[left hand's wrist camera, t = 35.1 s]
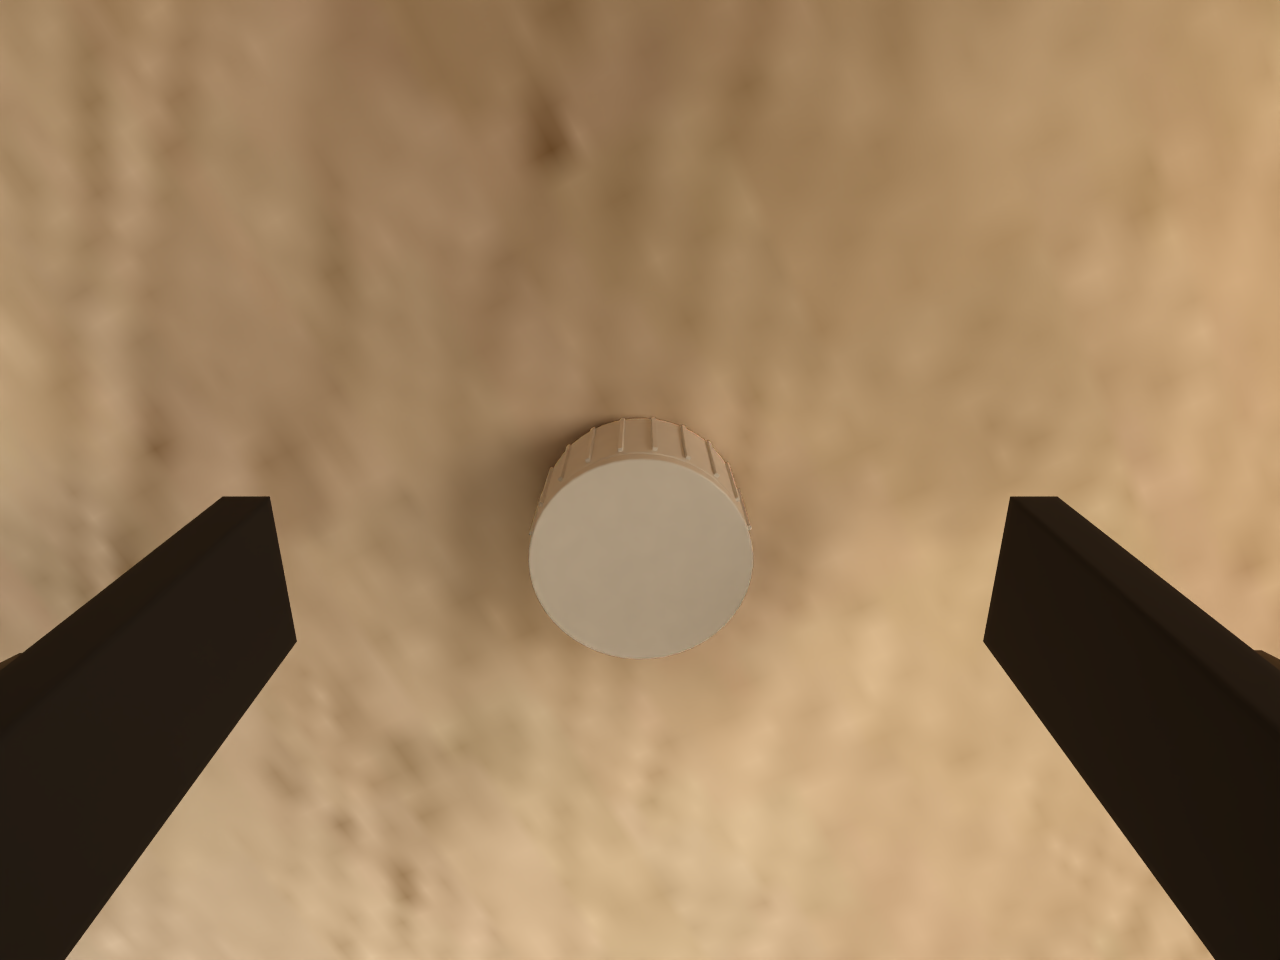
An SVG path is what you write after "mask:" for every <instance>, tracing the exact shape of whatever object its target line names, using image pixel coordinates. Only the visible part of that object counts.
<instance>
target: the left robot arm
mask: <svg viewBox="0 0 1280 960" xmlns="http://www.w3.org/2000/svg"><path fill="white" fill-rule="evenodd" d="M296 642H297V640H296V634H295V629H294V624H293V618H292V613H291V608H290V602H289V597H288V592H287V586H286V581H285V576H284V570H283V565H282V560H281V554H280V549H279V544H278V538H277V533H276V527H275V522H274V517H273V511H272V506H271V501H270V497H222V498H220V499H219V500H218V501H216V502H215V503H214V504H213V505H211V506H210V507H209V508H207V509H206V510H205V511H204V512H202V513H201V514H200V515H199V516H197V517H196V518H195V519H193V520H192V521H191V522H190V523H188V524H187V525H186V526H184V527H183V528H182V529H181V530H179V531H178V532H177V533H175V534H174V535H173V536H172V537H170V538H169V539H168V540H167V541H165V542H164V543H163V544H161V545H160V546H159V547H158V548H156V549H155V550H154V551H152V552H151V553H150V554H149V555H147V556H146V557H145V558H143V559H142V560H141V561H140V562H138V563H137V564H136V565H135V566H133V567H132V568H131V569H129V570H128V571H127V572H126V573H124V574H123V575H122V576H120V577H119V578H118V579H117V580H115V581H114V582H113V583H112V584H110V585H109V586H108V587H106V588H105V589H104V590H103V591H101V592H100V593H99V594H97V595H96V596H95V597H94V598H92V599H91V600H90V601H88V602H87V603H86V604H85V605H83V606H82V607H81V608H80V609H78V610H77V611H76V612H74V613H73V614H72V615H71V616H69V617H68V618H67V619H65V620H64V621H63V622H62V623H60V624H59V625H58V626H57V627H55V628H54V629H53V630H51V631H50V632H49V633H48V634H46V635H45V636H44V637H42V638H41V639H40V640H39V641H37V642H36V643H35V644H33V645H32V646H31V647H30V648H28V649H27V650H26V651H25V652H23V653H19V654H17V655H15V656H13V657H11V658H9V659H7V660H5V661H3V662H1V663H0V960H65V959H66V957H67V956H68V955H69V953H70V952H71V951H72V949H73V948H74V946H75V945H76V944H77V942H78V941H79V940H80V938H81V937H82V936H83V934H84V933H85V931H86V930H87V929H88V927H89V926H90V925H91V923H92V922H93V920H94V919H95V918H96V916H97V915H98V914H99V912H100V911H101V909H102V908H103V907H104V905H105V904H106V903H107V901H108V900H109V898H110V897H111V896H112V894H113V893H114V892H115V890H116V889H117V887H118V886H119V885H120V883H121V882H122V881H123V879H124V878H125V876H126V875H127V874H128V872H129V871H130V870H131V868H132V867H133V866H134V864H135V863H136V861H137V860H138V859H139V857H140V856H141V855H142V853H143V852H144V850H145V849H146V848H147V846H148V845H149V844H150V842H151V841H152V839H153V838H154V837H155V835H156V834H157V833H158V831H159V830H160V828H161V827H162V826H163V824H164V823H165V822H166V820H167V819H168V817H169V816H170V815H171V813H172V812H173V811H174V809H175V808H176V807H177V805H178V804H179V802H180V801H181V800H182V798H183V797H184V796H185V794H186V793H187V791H188V790H189V789H190V787H191V786H192V785H193V783H194V782H195V780H196V779H197V778H198V776H199V775H200V774H201V772H202V771H203V769H204V768H205V767H206V765H207V764H208V763H209V761H210V760H211V758H212V757H213V756H214V754H215V753H216V752H217V750H218V749H219V747H220V746H221V745H222V743H223V742H224V741H225V739H226V738H227V737H228V735H229V734H230V732H231V731H232V730H233V728H234V727H235V726H236V724H237V723H238V721H239V720H240V719H241V717H242V716H243V715H244V713H245V712H246V710H247V709H248V708H249V706H250V705H251V704H252V702H253V701H254V699H255V698H256V697H257V695H258V694H259V693H260V691H261V690H262V688H263V687H264V686H265V684H266V683H267V682H268V680H269V679H270V677H271V676H272V675H273V673H274V672H275V671H276V669H277V668H278V667H279V665H280V664H281V662H282V661H283V660H284V658H285V657H286V656H287V654H288V653H289V651H290V650H291V649H292V647H293V646H294V645H295V643H296ZM983 642H984V643H985V645H986V646H987V647H988V649H989V650H990V651H991V653H992V654H993V656H994V657H995V658H996V660H997V661H998V662H999V664H1000V665H1001V666H1002V668H1003V669H1004V671H1005V672H1006V673H1007V675H1008V676H1009V677H1010V679H1011V680H1012V682H1013V683H1014V684H1015V686H1016V687H1017V688H1018V690H1019V691H1020V693H1021V694H1022V695H1023V697H1024V698H1025V699H1026V701H1027V702H1028V704H1029V705H1030V706H1031V708H1032V709H1033V710H1034V712H1035V713H1036V715H1037V716H1038V717H1039V719H1040V720H1041V721H1042V723H1043V724H1044V726H1045V727H1046V728H1047V730H1048V731H1049V732H1050V734H1051V735H1052V736H1053V738H1054V739H1055V741H1056V742H1057V743H1058V745H1059V746H1060V747H1061V749H1062V750H1063V752H1064V753H1065V754H1066V756H1067V757H1068V758H1069V760H1070V761H1071V763H1072V764H1073V765H1074V767H1075V768H1076V769H1077V771H1078V772H1079V774H1080V775H1081V776H1082V778H1083V779H1084V780H1085V782H1086V783H1087V785H1088V786H1089V787H1090V789H1091V790H1092V791H1093V793H1094V794H1095V796H1096V797H1097V798H1098V800H1099V801H1100V802H1101V804H1102V805H1103V806H1104V808H1105V809H1106V811H1107V812H1108V813H1109V815H1110V816H1111V817H1112V819H1113V820H1114V822H1115V823H1116V824H1117V826H1118V827H1119V828H1120V830H1121V831H1122V833H1123V834H1124V835H1125V837H1126V838H1127V839H1128V841H1129V842H1130V844H1131V845H1132V846H1133V848H1134V849H1135V850H1136V852H1137V853H1138V855H1139V856H1140V857H1141V859H1142V860H1143V861H1144V863H1145V864H1146V865H1147V867H1148V868H1149V870H1150V871H1151V872H1152V874H1153V875H1154V876H1155V878H1156V879H1157V881H1158V882H1159V883H1160V885H1161V886H1162V887H1163V889H1164V890H1165V892H1166V893H1167V894H1168V896H1169V897H1170V898H1171V900H1172V901H1173V903H1174V904H1175V905H1176V907H1177V908H1178V909H1179V911H1180V912H1181V914H1182V915H1183V916H1184V918H1185V919H1186V920H1187V922H1188V923H1189V925H1190V926H1191V927H1192V929H1193V930H1194V931H1195V933H1196V934H1197V935H1198V937H1199V938H1200V940H1201V941H1202V942H1203V944H1204V945H1205V946H1206V948H1207V949H1208V951H1209V952H1210V953H1211V955H1212V956H1213V957H1214V959H1215V960H1280V659H1278V658H1276V657H1274V656H1272V655H1270V654H1268V653H1266V652H1264V651H1262V650H1253V649H1252V648H1250V647H1249V646H1248V645H1247V644H1245V643H1244V642H1243V641H1241V640H1240V639H1239V638H1238V637H1236V636H1235V635H1234V634H1232V633H1231V632H1230V631H1229V630H1227V629H1226V628H1225V627H1224V626H1222V625H1221V624H1220V623H1218V622H1217V621H1216V620H1215V619H1213V618H1212V617H1211V616H1209V615H1208V614H1207V613H1206V612H1204V611H1203V610H1202V609H1200V608H1199V607H1198V606H1197V605H1195V604H1194V603H1193V602H1192V601H1190V600H1189V599H1188V598H1186V597H1185V596H1184V595H1183V594H1181V593H1180V592H1179V591H1177V590H1176V589H1175V588H1174V587H1172V586H1171V585H1170V584H1169V583H1167V582H1166V581H1165V580H1163V579H1162V578H1161V577H1160V576H1158V575H1157V574H1156V573H1154V572H1153V571H1152V570H1151V569H1149V568H1148V567H1147V566H1145V565H1144V564H1143V563H1142V562H1140V561H1139V560H1138V559H1137V558H1135V557H1134V556H1133V555H1131V554H1130V553H1129V552H1128V551H1126V550H1125V549H1124V548H1122V547H1121V546H1120V545H1119V544H1117V543H1116V542H1115V541H1113V540H1112V539H1111V538H1110V537H1108V536H1107V535H1106V534H1105V533H1103V532H1102V531H1101V530H1099V529H1098V528H1097V527H1096V526H1094V525H1093V524H1092V523H1090V522H1089V521H1088V520H1087V519H1085V518H1084V517H1083V516H1082V515H1080V514H1079V513H1078V512H1076V511H1075V510H1074V509H1073V508H1071V507H1070V506H1069V505H1067V504H1066V503H1065V502H1064V501H1062V500H1061V499H1060V498H1058V497H1010V501H1009V506H1008V511H1007V517H1006V522H1005V528H1004V533H1003V538H1002V544H1001V549H1000V554H999V560H998V565H997V570H996V576H995V581H994V586H993V592H992V597H991V602H990V608H989V613H988V618H987V624H986V629H985V634H984V640H983Z"/></svg>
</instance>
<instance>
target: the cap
mask: <svg viewBox="0 0 1280 960" xmlns="http://www.w3.org/2000/svg"><path fill="white" fill-rule="evenodd" d="M751 529H752V528H751V524H750V521H749V518H748V515H747V511H746V508H745V505H744V502H743V499H742V495H741V492H740V489H739V488H738V489H737V487H736V484H735V481H734V477H733V474H732V471H731V467H730V465H729V463H728V462H727V463H725V462H724V460H723V459H722V457H721V456H720V455H719V454H718V453H717V451H716V450H715V449H714V448H713V447H712V444H711V442H710V441H709V440H708V441H707V442H706V441H705V440H704V439H703V438H701V437H700V436H698V435H697V434H695V433H694V432H692V431H690V430H688V429H686V426H684V425H681V426H679V425H677V424H674V423H671V422H667V421H663V420H658V419H656V417H651V419H649V418H631V419H625V418H620V420H618V421H614V422H611V423H608V424H604V425H602V426H600V427H598V428H595V427H593V428H591V430H590V432H588V433H586V434H585V435H583V436H581V437H580V438H579V439H578V440H576V441H575V442H574V443H573V444H572V445H570V444H568V445H567V446H566V450H565V452H564V453H563V454H562V456H561V457H560V458H559V460H558V461H557V463H556V464H555V466H554V468H553V467H550V469H549V472H548V475H547V479H546V482H545V485H544V488H543V492H542V493H541V495H540V499H539V502H538V505H537V508H536V512H535V515H534V518H533V522H532V525H531V528H530V532H529V535H531V540H530V545H529V558H528V562H529V572H530V577H531V581H532V585H533V588H534V591H535V593H536V596H537V598H538V600H539V602H540V604H541V605H542V607H543V609H544V610H545V612H546V613H547V614H548V616H549V617H550V618H551V620H552V621H553V622H554V623H555V624H556V625H557V626H558V627H559V628H560V629H561V630H562V631H563V632H565V633H566V634H567V635H569V636H570V637H571V638H572V639H574V640H576V641H577V642H579V643H581V644H582V645H584V646H586V647H588V648H591V649H593V650H595V651H597V652H600V653H604V654H607V655H610V656H615V657H620V658H627V659H654V658H661V657H667V656H671V655H675V654H679V653H681V652H684V651H686V650H689V649H692V648H694V647H695V646H697V645H699V644H701V643H703V642H705V641H706V640H708V639H709V638H710V637H712V636H713V635H715V634H716V633H717V632H718V631H719V630H720V629H722V628H723V627H724V626H725V625H726V624H727V623H728V621H729V620H730V619H731V618H732V617H733V616H734V614H735V613H736V611H737V610H738V608H739V607H740V605H741V603H742V601H743V599H744V597H745V595H746V593H747V590H748V587H749V584H750V581H751V576H752V570H753V548H752V540H751V537H750V533H749V530H751Z"/></svg>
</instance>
